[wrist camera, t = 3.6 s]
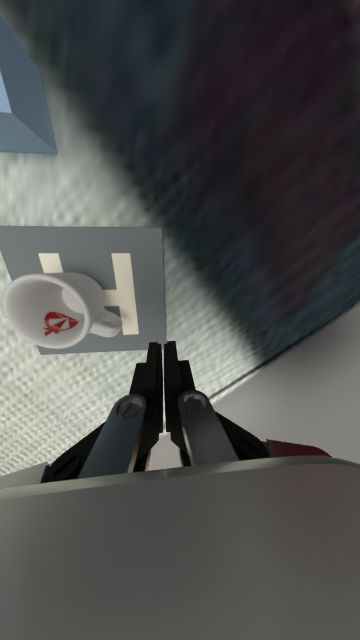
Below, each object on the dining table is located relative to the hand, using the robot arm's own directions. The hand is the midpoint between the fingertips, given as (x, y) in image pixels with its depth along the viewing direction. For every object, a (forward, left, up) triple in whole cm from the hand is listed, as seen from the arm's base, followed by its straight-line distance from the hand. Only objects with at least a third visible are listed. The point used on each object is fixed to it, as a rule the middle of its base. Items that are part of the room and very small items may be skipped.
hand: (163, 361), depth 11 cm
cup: (+10, 0, -16) cm, 19 cm away
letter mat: (+10, 0, -16) cm, 18 cm away
